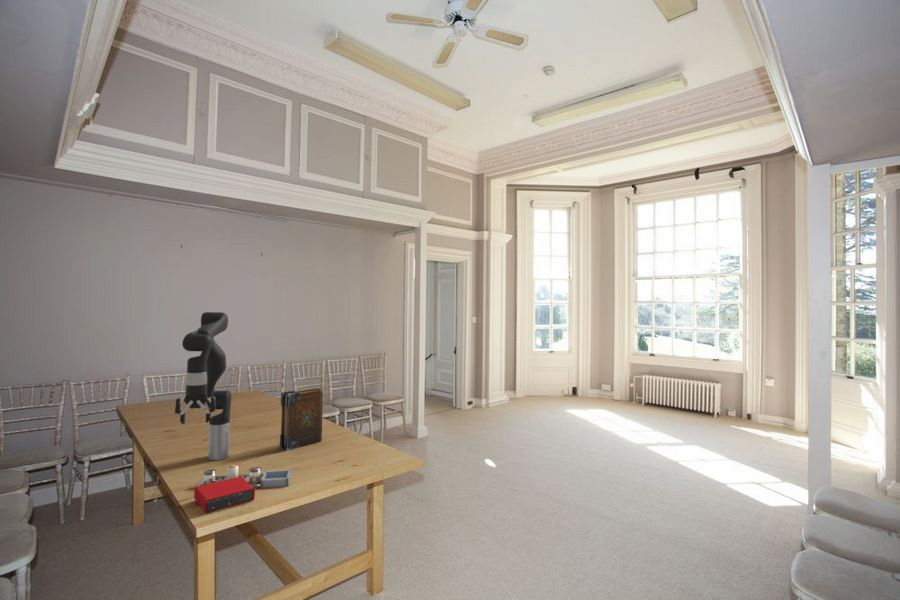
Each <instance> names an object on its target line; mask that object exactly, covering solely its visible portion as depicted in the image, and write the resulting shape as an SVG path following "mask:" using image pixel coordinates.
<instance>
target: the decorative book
mask: <svg viewBox="0 0 900 600" xmlns="http://www.w3.org/2000/svg"><path fill="white" fill-rule="evenodd" d="M323 397H324V389H323V388H320V387H319V388H317V387H316V388H307V389H302V390H287V391H281V392H280V406H281V418H280V419H281V421H280V422H281V423H280V435H279V449H281V450H282V449H285V452H286V451H287V452H288V451H293V450H296V449H298V448H299V447H303V446H307V445H310V444H314V443H317V442H321V441H322V440H323V439H322V437H323V406H324V405H323V401H324V398H323Z"/></svg>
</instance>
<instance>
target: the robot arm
mask: <svg viewBox="0 0 900 600" xmlns="http://www.w3.org/2000/svg"><path fill="white" fill-rule="evenodd" d="M200 316H201V317H200V327H199V328H197V329H196V330H194V331H191V332H189V333H187V334H186V335H185V336H184V337H183V339H182V341H181V342H182V343H181V344H182V348H183V349H184V350H185V351H187V352H201V353H200V355H197V356H193V357H190V358H188V359H187V363H186V364H187V365H186V377H185V397H180V396H179V397H177V398H176V399H175V408H174V413H175V414H178V415H179V416H180V419H179V422H180V423H181V425H184V424H185V423H186V412H187V410H188V409H189V408H190V409H191V410H192V409H202V410H203V411H204V412H205V423H206V424H208V445H207V446H208V447H207V448H208V449H207V450H208V451H207V452H208V453H207V459H208V460H210V461H219V460H225V459H227V458H229V455H230V453H229V452H230V431H231V430H230V429H231V428H230V427H231V426H230V425H231V424H230V423H231V421H230V419H231V405H232V392H231V391H230V390H215V386H216V384H217V382H218V381H219V380H220V378H221V377H222V376H223V374H224V373H225V370H226V368H227V357H226V353H225V351H224V350H223V349H222V348H221V346H220V345H219V344H218V343H217V341H215V339H214V338H215V337H216V336H217V335H219V334H221V333H223V332H224V331H226V330H227V329H228V327H229V317H228V315H227V313H225V312H218V311H216V312H215V311H213V312H212V311H205V312H203V313H202V314H201V315H200ZM182 403H185V407H183V409H181V404H182ZM216 410H222V411H221V412H220V413H218V414H216V415H212V414H211V413H214V412H215V411H216ZM211 415H212V416H211Z"/></svg>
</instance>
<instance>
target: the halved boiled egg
mask: <svg viewBox="0 0 900 600" xmlns="http://www.w3.org/2000/svg"><path fill="white" fill-rule="evenodd" d="M238 475H239V465H237V464H231V465H228V466H227V467H226V476H227V479H232V478H236V477H238Z"/></svg>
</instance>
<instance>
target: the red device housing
mask: <svg viewBox="0 0 900 600" xmlns="http://www.w3.org/2000/svg"><path fill="white" fill-rule="evenodd" d="M245 479H246V478H242V477H241V476H240V477H236V478H232V479H227V480H224V479H222V480H221V481H219V482H217V481H215V482H214V483H210V484H206V485H204V484H203V485H202V486H197V485H196V487H195V488H194V492H193V493H194V494H193V495H194V496H193V498H194V501H196V503H197V504H198V505H199V506H200V508H201V510H202V511H203V512H204V513H205V514H209V512H210V513H212V512H213V513H214V512H216V511H221V510H224V509H227V508H231V507H234V506H238V505H243V504H246V503H250V502H253V501H254V500H255V497H256V496H255V495H256V494H255V493H256V492H255V491H256V488H253V487H252V486H251V485H252V484H251V483H249V481H248V482H247V481H246V480H245ZM220 509H221V510H220Z"/></svg>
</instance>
